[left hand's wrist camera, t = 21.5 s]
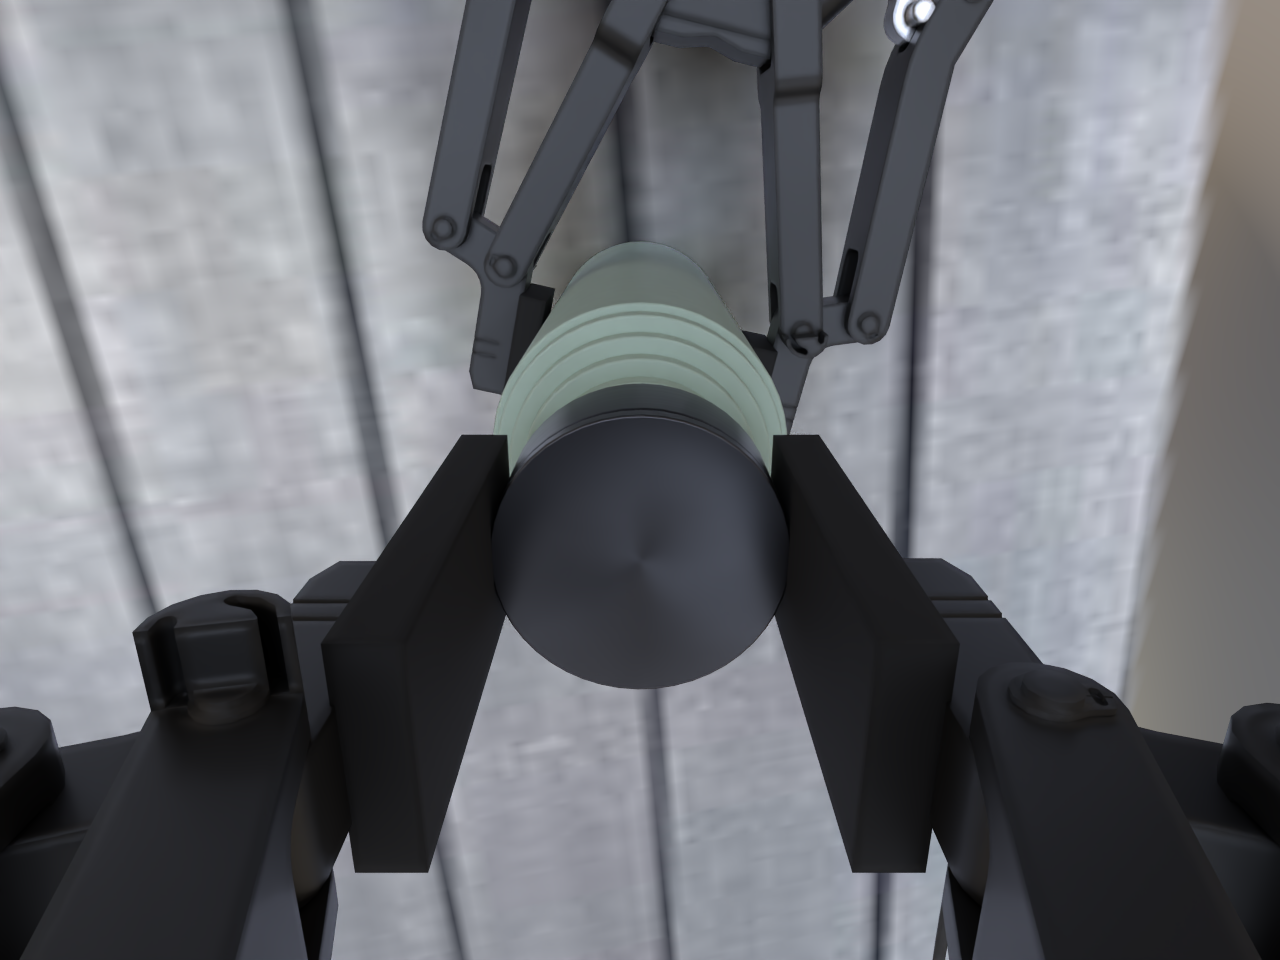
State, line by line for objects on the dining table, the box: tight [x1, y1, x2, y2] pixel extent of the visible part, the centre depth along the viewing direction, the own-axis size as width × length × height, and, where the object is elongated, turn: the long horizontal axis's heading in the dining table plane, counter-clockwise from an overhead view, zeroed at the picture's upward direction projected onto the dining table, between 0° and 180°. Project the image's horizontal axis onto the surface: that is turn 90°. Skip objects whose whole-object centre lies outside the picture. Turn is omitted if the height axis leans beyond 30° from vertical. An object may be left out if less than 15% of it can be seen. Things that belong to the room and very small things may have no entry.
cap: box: [491, 383, 790, 689], centre depth 13 cm, size 4×4×2 cm
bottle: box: [493, 241, 787, 477], centre depth 22 cm, size 6×6×20 cm
